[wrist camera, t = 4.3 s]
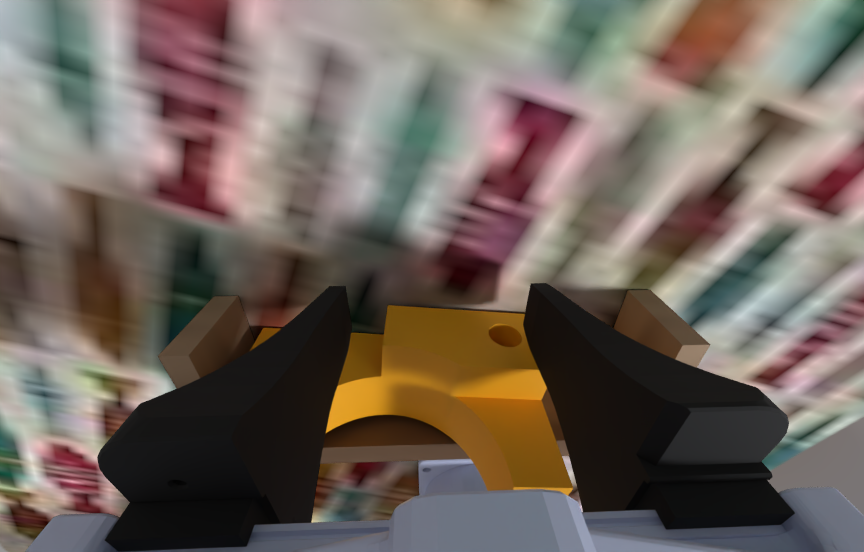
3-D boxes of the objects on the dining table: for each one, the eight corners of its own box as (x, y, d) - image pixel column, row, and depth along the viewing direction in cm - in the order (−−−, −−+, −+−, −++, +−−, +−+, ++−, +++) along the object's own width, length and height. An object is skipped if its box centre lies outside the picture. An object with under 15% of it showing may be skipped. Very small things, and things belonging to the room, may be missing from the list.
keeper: (607, 390, 18) (644, 453, 15) (257, 399, 17) (223, 466, 14) (649, 289, 14) (710, 344, 11) (214, 296, 14) (157, 356, 11)
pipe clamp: (530, 314, 15) (593, 459, 9) (508, 377, 17) (548, 522, 12) (256, 296, 14) (150, 447, 8) (272, 366, 16) (198, 519, 11)
